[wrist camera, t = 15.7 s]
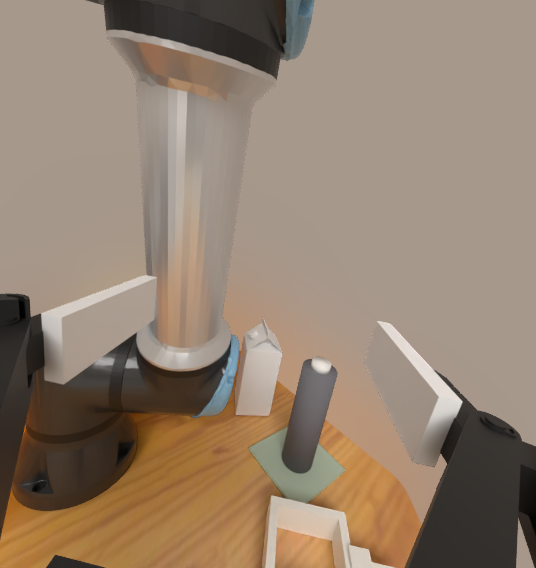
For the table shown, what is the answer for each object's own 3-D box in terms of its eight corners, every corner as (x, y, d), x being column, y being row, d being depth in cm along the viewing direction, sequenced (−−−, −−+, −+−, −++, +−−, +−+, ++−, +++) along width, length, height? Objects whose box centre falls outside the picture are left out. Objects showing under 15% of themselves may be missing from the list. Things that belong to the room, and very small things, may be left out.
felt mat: (248, 449, 46) (249, 447, 46) (295, 423, 54) (296, 421, 54) (296, 513, 37) (297, 510, 37) (344, 471, 45) (345, 469, 45)
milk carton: (264, 393, 61) (279, 319, 56) (269, 417, 54) (286, 334, 50) (234, 392, 60) (246, 315, 55) (235, 416, 53) (249, 331, 48)
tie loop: (256, 624, 27) (263, 595, 25) (266, 516, 36) (272, 491, 35) (413, 666, 26) (428, 637, 25) (381, 544, 35) (390, 519, 34)
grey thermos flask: (275, 453, 46) (297, 356, 41) (296, 440, 49) (319, 349, 44) (297, 479, 42) (324, 376, 37) (318, 463, 45) (346, 367, 40)
